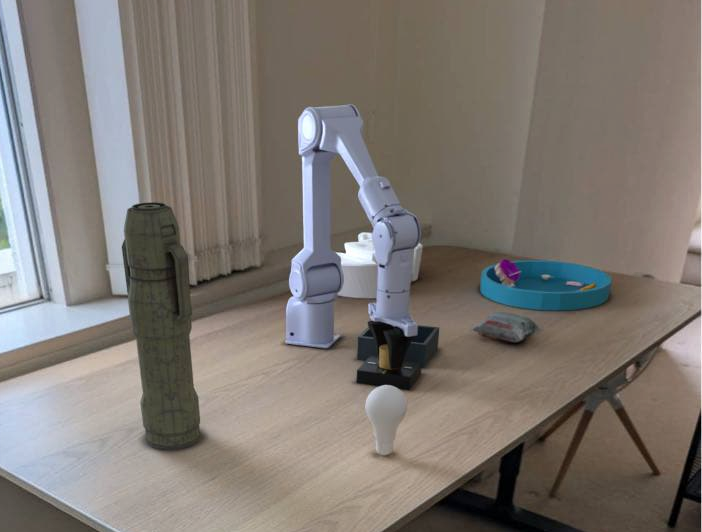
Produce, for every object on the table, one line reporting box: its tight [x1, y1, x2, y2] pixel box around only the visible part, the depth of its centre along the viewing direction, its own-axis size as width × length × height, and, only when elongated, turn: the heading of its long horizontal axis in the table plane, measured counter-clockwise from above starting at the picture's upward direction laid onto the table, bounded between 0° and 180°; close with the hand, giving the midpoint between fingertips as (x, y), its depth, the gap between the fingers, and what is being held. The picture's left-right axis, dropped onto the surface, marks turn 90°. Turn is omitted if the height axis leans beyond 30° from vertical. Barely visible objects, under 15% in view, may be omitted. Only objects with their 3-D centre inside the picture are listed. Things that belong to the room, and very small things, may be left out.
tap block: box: [356, 356, 422, 391], centre depth 148 cm, size 10×8×3 cm
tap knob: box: [379, 344, 398, 370], centre depth 146 cm, size 4×4×4 cm
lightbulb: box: [365, 385, 408, 456], centre depth 119 cm, size 6×6×11 cm
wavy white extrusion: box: [334, 231, 424, 299], centre depth 200 cm, size 35×16×11 cm, turn 145°
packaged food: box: [469, 311, 542, 343], centre depth 165 cm, size 9×12×5 cm
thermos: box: [121, 201, 201, 451], centre depth 119 cm, size 9×12×35 cm
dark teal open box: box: [356, 324, 440, 369], centre depth 158 cm, size 13×11×5 cm
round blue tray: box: [479, 258, 613, 311], centre depth 193 cm, size 30×30×6 cm
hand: (389, 363), depth 147 cm, fingers closed on tap knob, 4 cm apart
